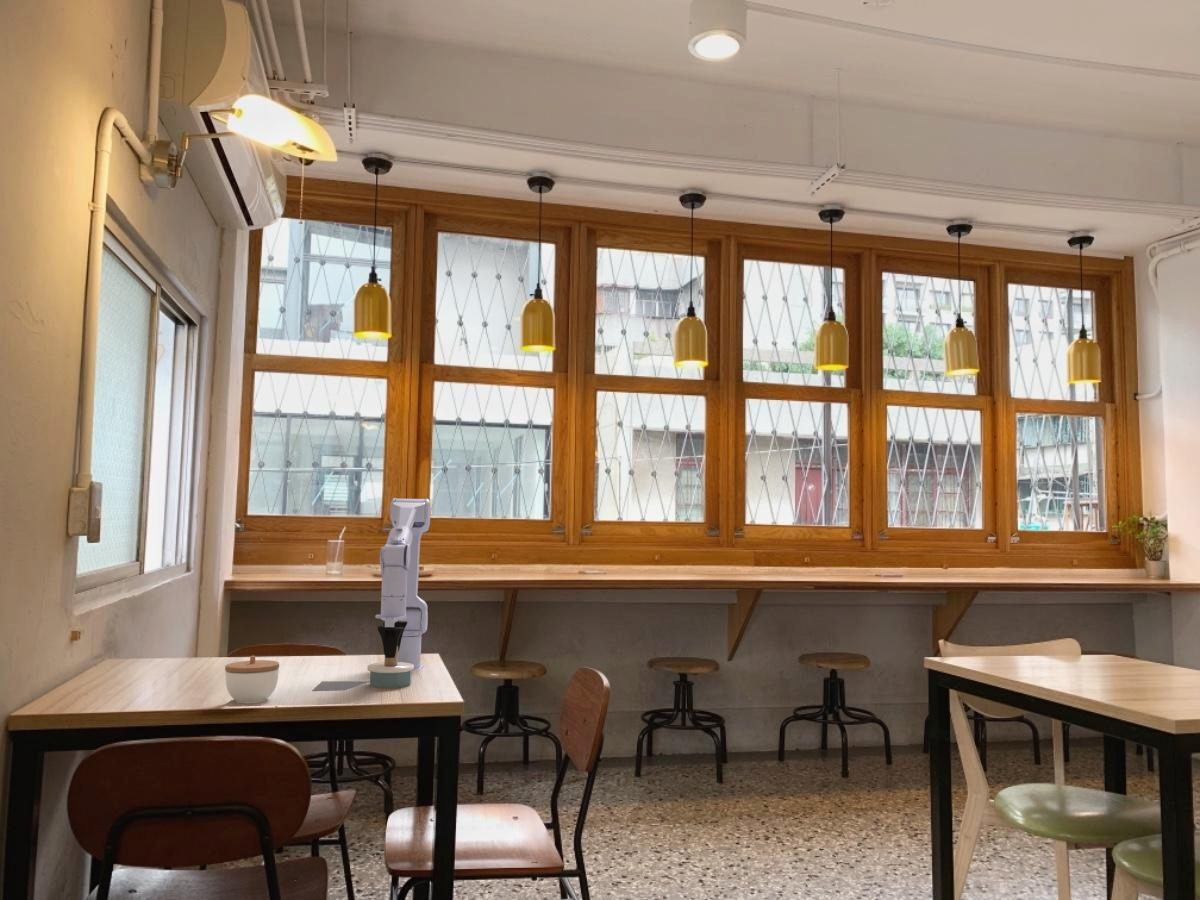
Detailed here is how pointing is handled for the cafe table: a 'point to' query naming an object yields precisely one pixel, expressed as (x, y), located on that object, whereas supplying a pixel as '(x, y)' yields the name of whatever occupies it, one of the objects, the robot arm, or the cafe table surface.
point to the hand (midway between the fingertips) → (391, 655)
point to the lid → (391, 666)
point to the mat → (337, 685)
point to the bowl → (390, 679)
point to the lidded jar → (251, 680)
